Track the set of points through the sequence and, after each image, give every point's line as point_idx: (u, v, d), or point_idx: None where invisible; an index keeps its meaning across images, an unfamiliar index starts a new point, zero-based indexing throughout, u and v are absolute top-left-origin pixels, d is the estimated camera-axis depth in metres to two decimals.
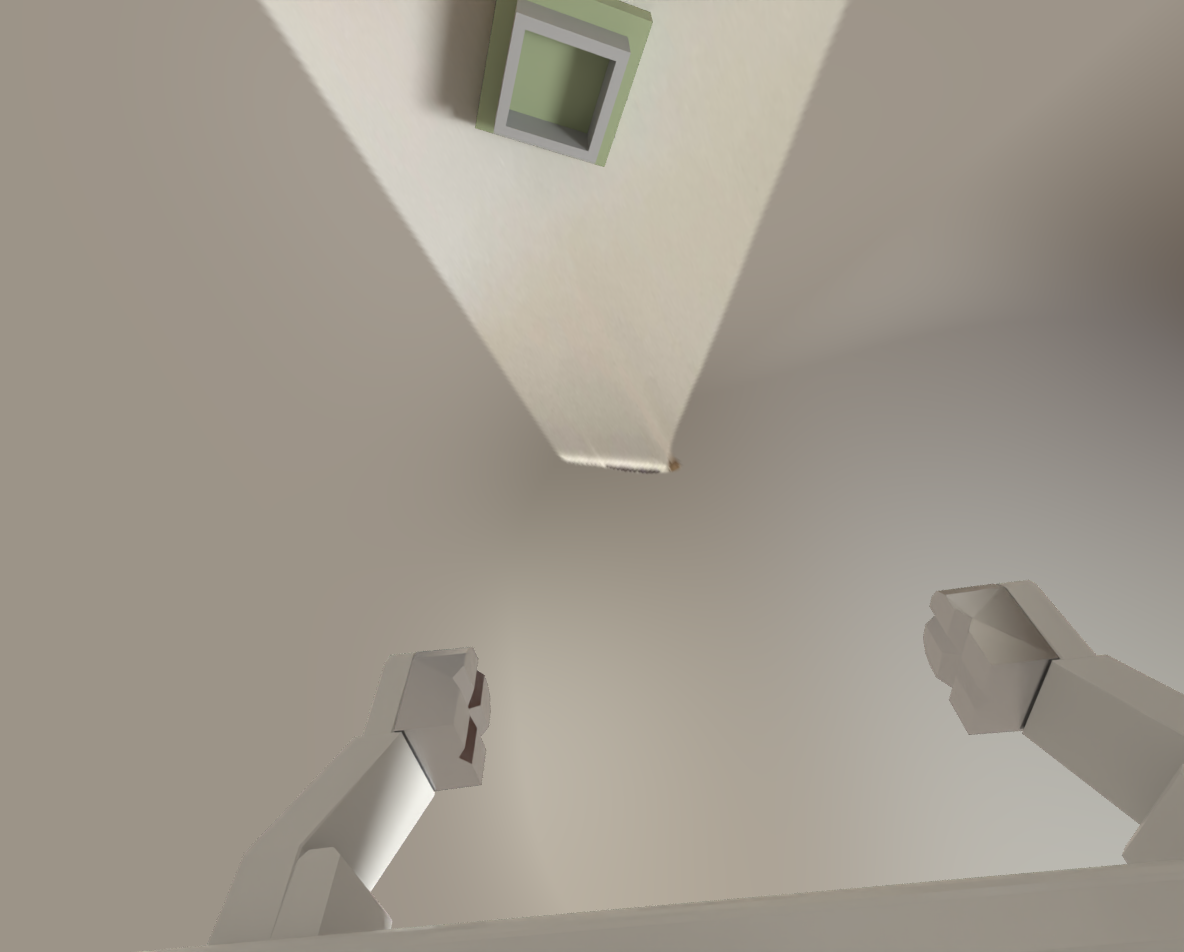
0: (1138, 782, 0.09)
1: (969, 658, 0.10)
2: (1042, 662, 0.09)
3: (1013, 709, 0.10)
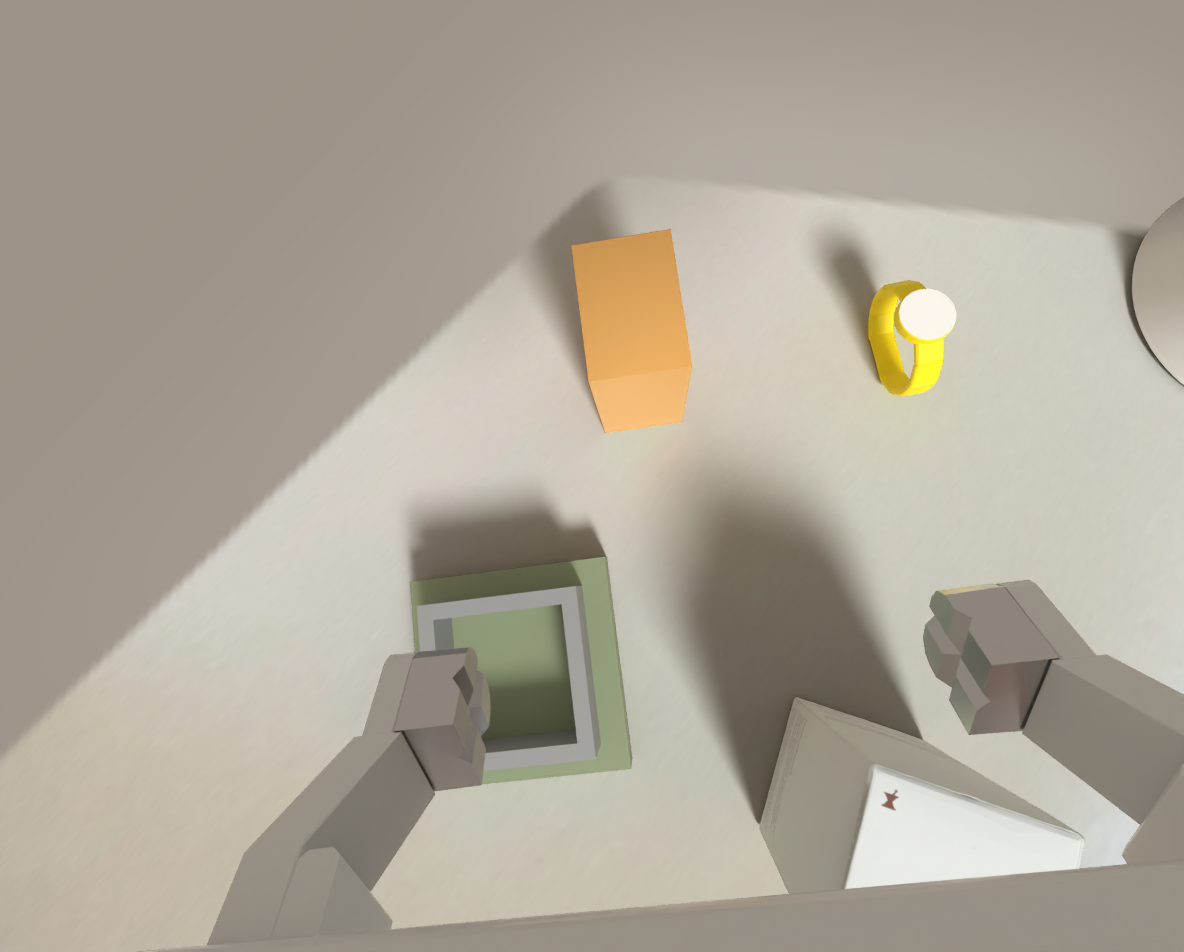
0: (1138, 782, 0.09)
1: (969, 657, 0.10)
2: (1042, 662, 0.09)
3: (1013, 709, 0.10)
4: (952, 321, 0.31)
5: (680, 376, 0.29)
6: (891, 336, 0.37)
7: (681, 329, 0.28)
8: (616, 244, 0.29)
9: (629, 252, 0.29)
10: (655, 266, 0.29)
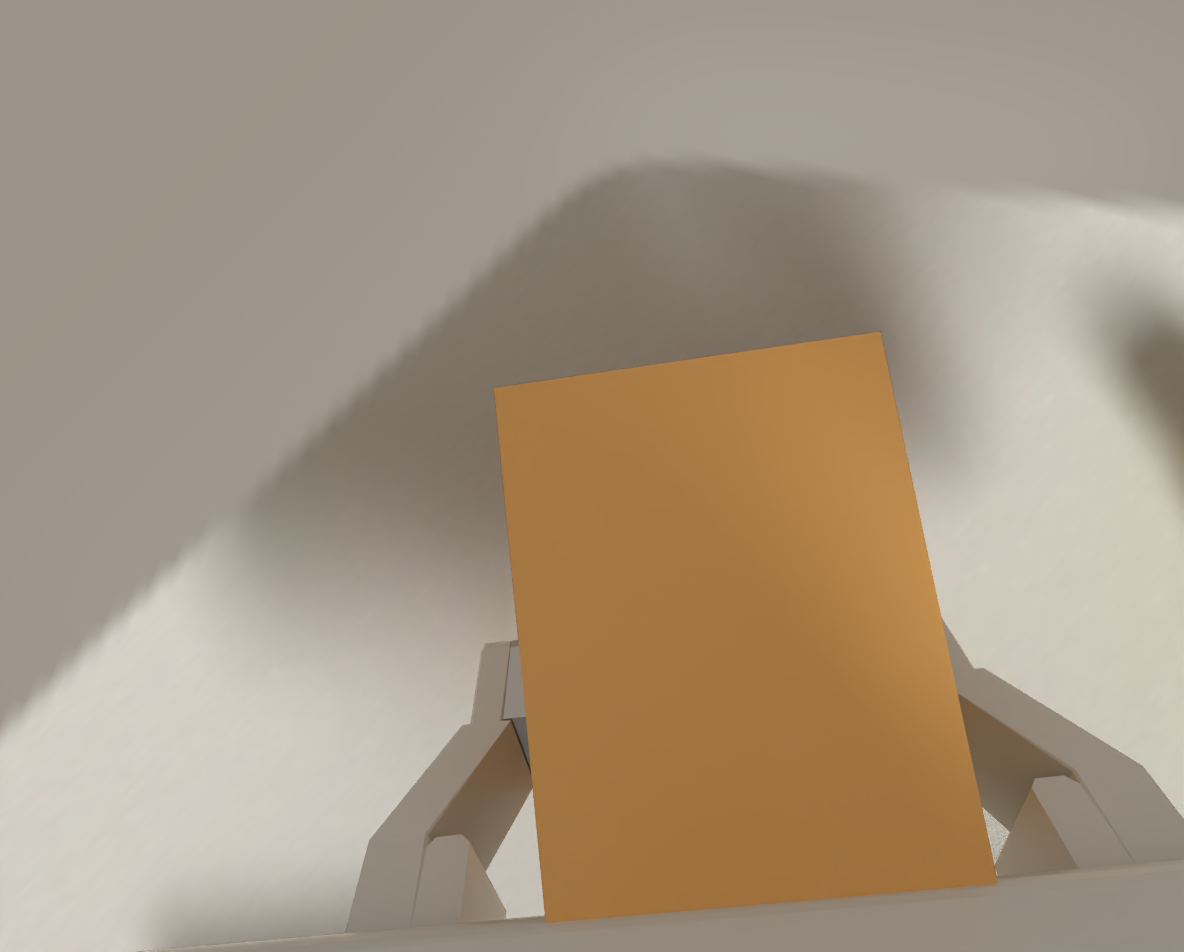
0: (1009, 794, 0.09)
1: None
2: None
3: None
4: None
5: None
6: None
7: (955, 774, 0.07)
8: (664, 387, 0.08)
9: (720, 423, 0.07)
10: (825, 485, 0.07)
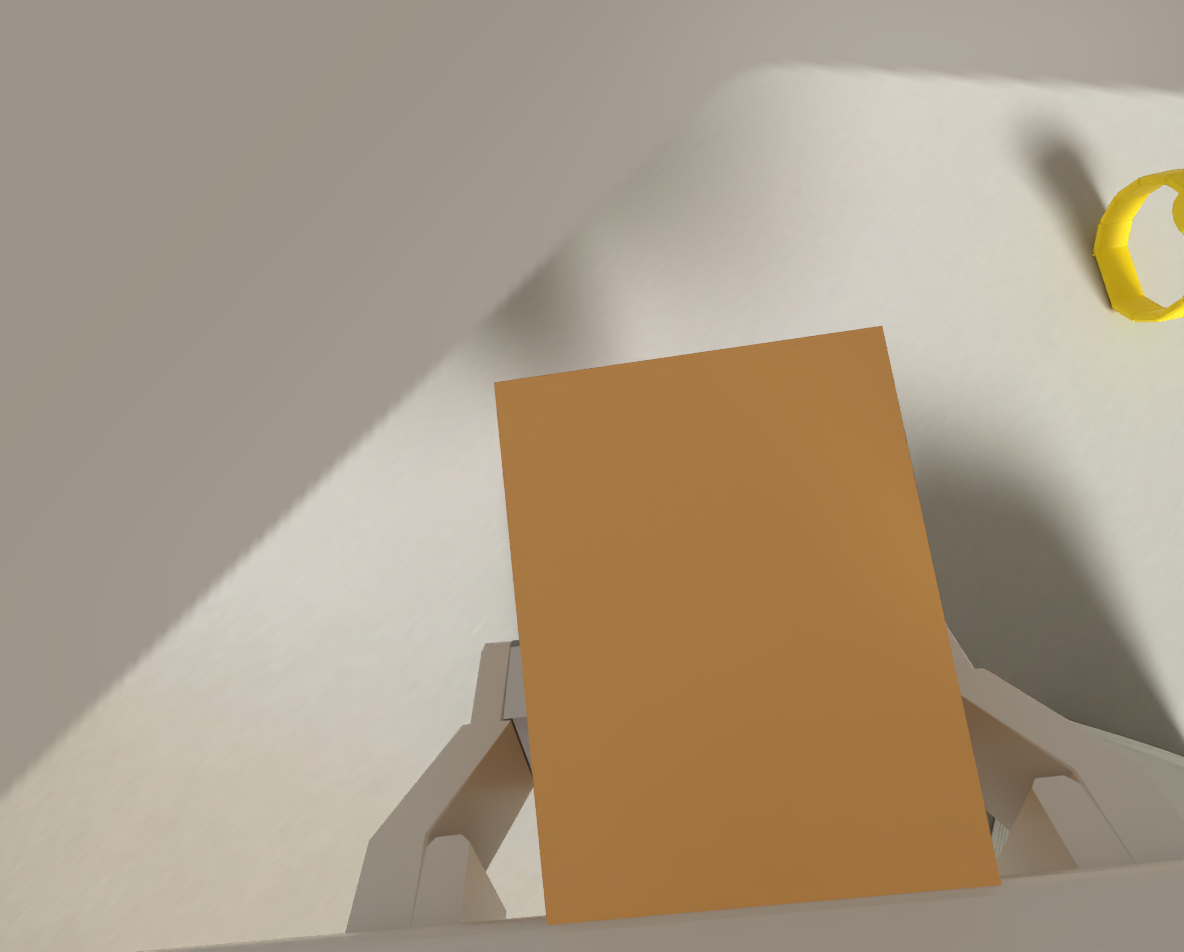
0: (1010, 794, 0.09)
1: None
2: None
3: None
4: None
5: None
6: (1125, 251, 0.29)
7: (957, 770, 0.07)
8: (665, 382, 0.07)
9: (721, 418, 0.07)
10: (827, 481, 0.07)
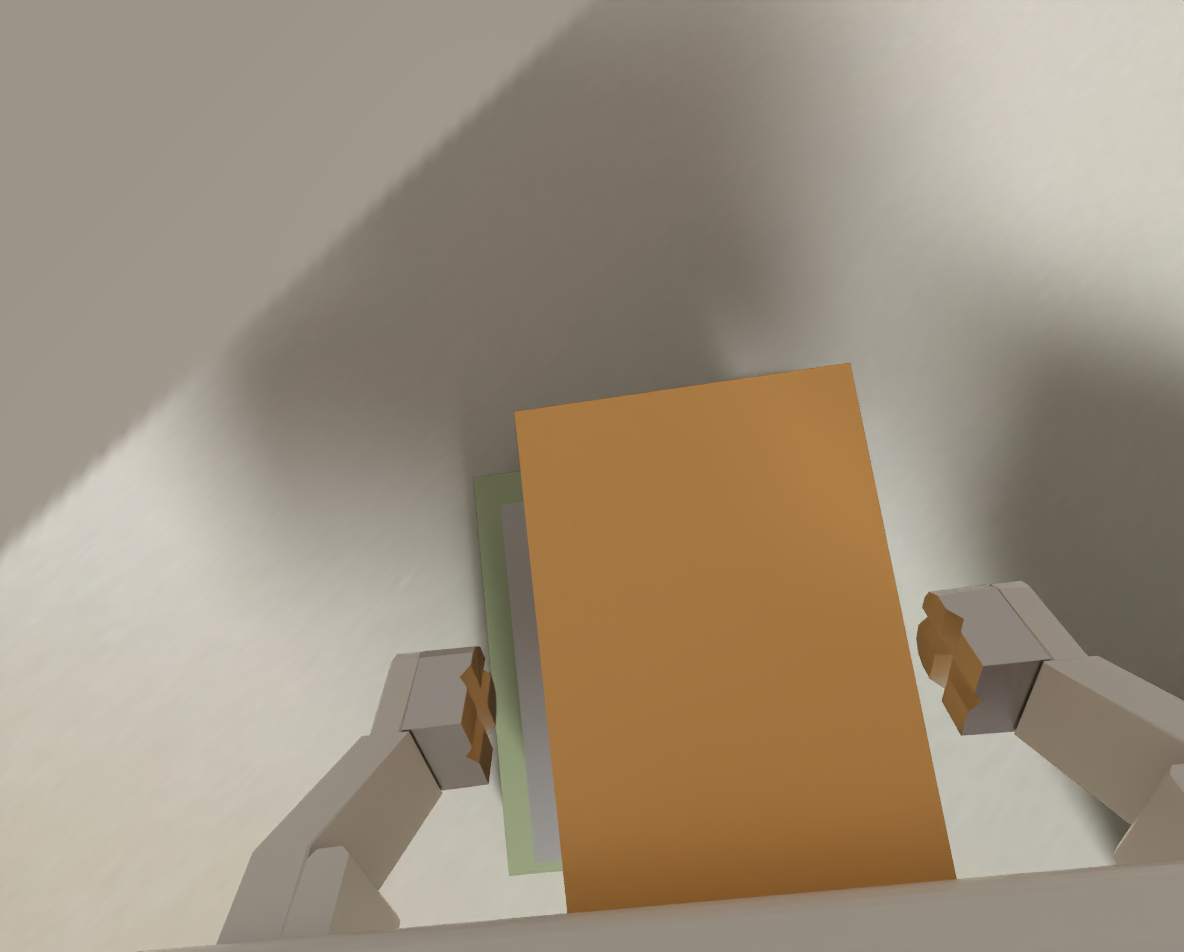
0: (1129, 783, 0.09)
1: (960, 659, 0.10)
2: (1033, 663, 0.09)
3: (1005, 710, 0.10)
4: None
5: None
6: None
7: (912, 744, 0.08)
8: (663, 412, 0.09)
9: (711, 443, 0.09)
10: (802, 497, 0.08)
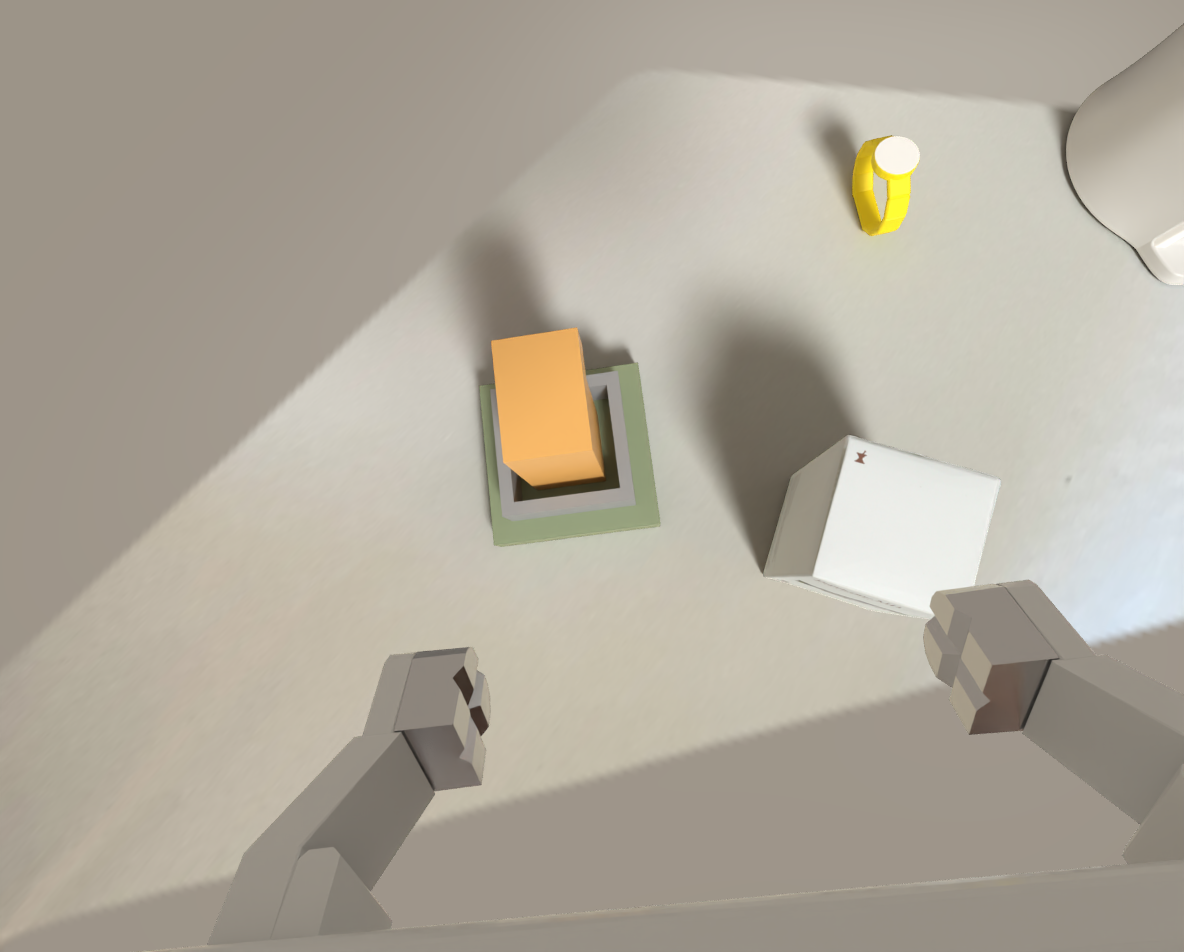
0: (1138, 782, 0.09)
1: (969, 658, 0.10)
2: (1042, 662, 0.09)
3: (1013, 709, 0.10)
4: (916, 160, 0.40)
5: (585, 456, 0.33)
6: (871, 193, 0.45)
7: (584, 417, 0.32)
8: (529, 340, 0.33)
9: (541, 348, 0.33)
10: (563, 361, 0.33)
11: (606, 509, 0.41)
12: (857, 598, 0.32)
